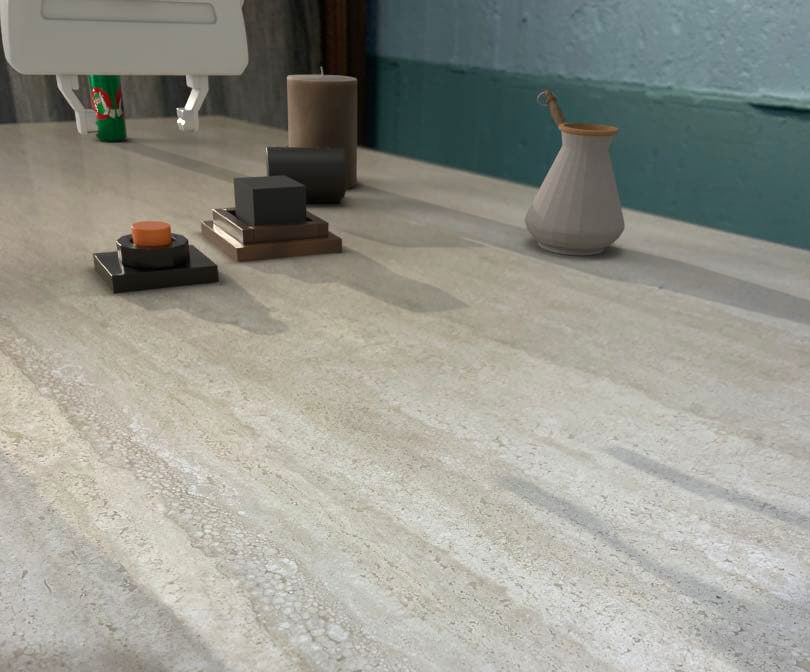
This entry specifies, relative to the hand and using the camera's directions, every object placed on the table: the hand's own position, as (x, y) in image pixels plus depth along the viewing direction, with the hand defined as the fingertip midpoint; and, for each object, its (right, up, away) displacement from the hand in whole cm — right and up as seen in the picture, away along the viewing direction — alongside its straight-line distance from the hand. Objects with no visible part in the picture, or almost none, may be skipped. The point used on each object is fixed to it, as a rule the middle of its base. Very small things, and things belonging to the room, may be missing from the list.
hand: (139, 131), depth 78 cm
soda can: (-26, +31, +70) cm, 81 cm away
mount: (+9, -4, +19) cm, 21 cm away
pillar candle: (+12, +15, +48) cm, 51 cm away
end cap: (+11, +8, +37) cm, 40 cm away
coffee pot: (+42, 0, +28) cm, 51 cm away
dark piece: (0, -11, +7) cm, 13 cm away
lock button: (0, -8, +5) cm, 10 cm away
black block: (+9, -2, +18) cm, 21 cm away
